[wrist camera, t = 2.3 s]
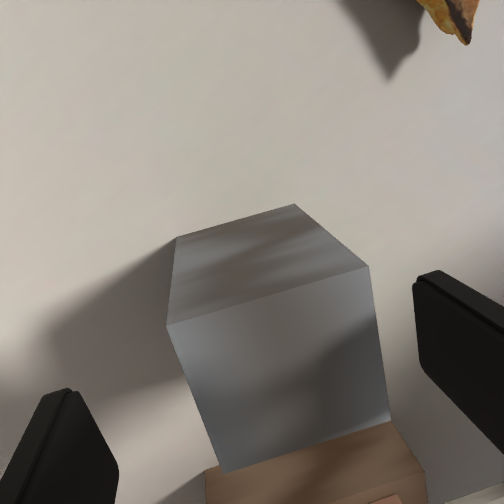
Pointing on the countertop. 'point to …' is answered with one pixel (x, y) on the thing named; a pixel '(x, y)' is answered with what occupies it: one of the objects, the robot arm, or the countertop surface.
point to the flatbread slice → (453, 16)
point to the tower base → (328, 473)
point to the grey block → (275, 336)
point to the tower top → (389, 500)
